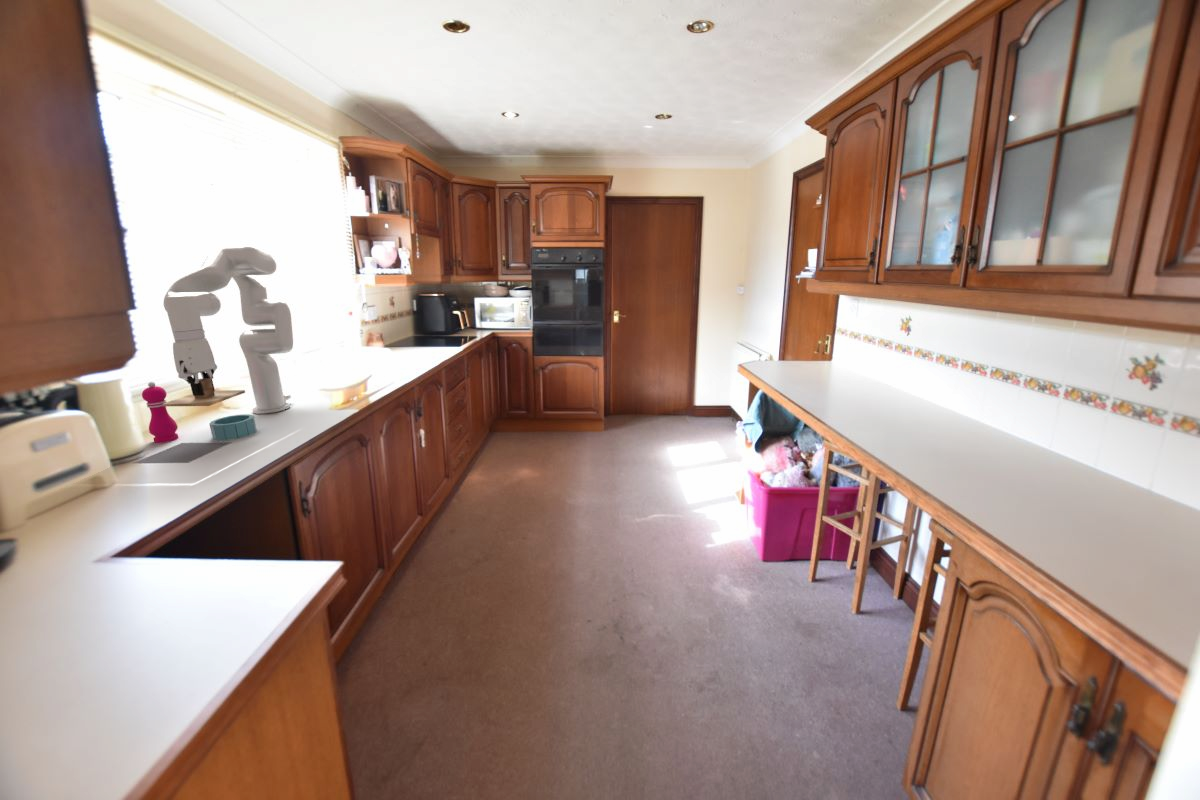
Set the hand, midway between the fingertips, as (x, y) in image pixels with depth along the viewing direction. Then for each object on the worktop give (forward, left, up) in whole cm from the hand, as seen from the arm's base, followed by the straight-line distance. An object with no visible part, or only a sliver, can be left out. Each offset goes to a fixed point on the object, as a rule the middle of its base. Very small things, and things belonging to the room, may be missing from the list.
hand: (204, 392), depth 163 cm
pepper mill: (-2, -19, -17) cm, 25 cm away
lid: (0, 0, -2) cm, 2 cm away
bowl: (-7, +1, -16) cm, 18 cm away
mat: (+10, -2, -17) cm, 19 cm away
